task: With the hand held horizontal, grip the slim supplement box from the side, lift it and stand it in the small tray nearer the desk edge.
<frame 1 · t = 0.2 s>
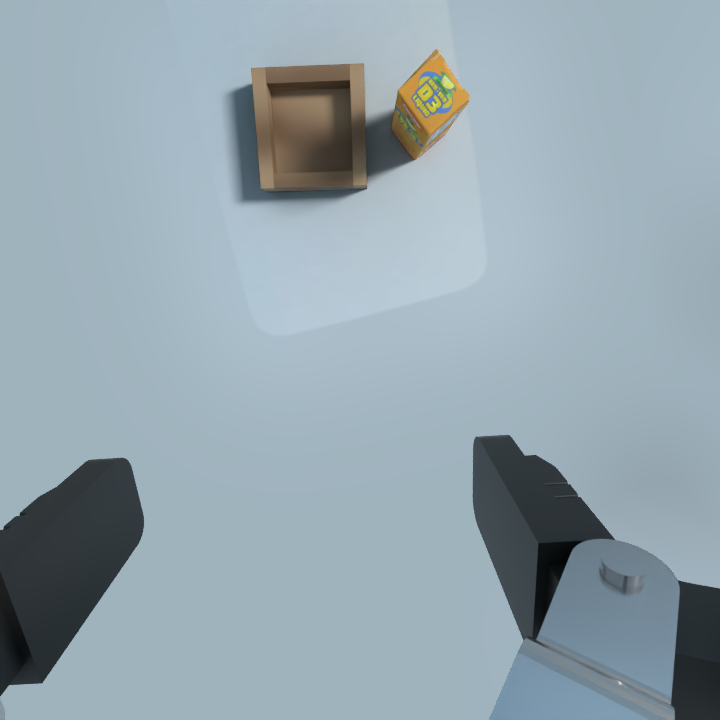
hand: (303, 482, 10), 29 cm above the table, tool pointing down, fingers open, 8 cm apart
tray: (314, 136, 34), on the table
supplement box: (416, 133, 35), on the table
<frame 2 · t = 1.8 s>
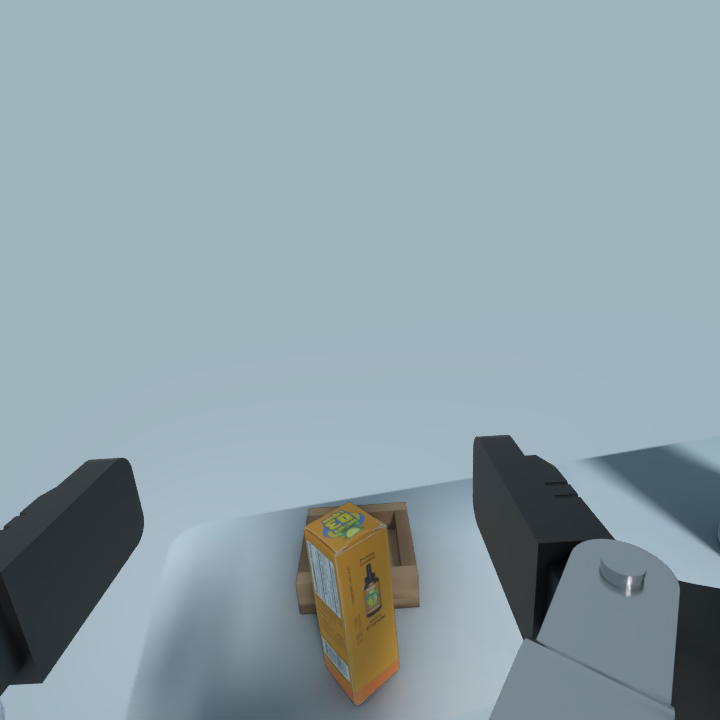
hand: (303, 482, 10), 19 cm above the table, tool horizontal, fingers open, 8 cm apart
tray: (359, 565, 33), on the table
supplement box: (360, 671, 26), on the table
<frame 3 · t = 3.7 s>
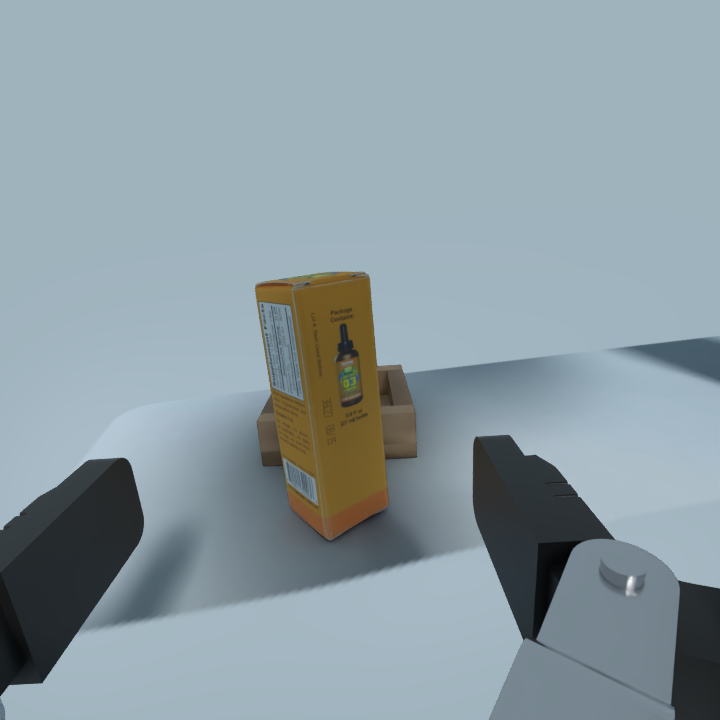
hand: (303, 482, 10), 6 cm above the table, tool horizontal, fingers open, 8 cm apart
tray: (342, 427, 27), on the table
supplement box: (336, 512, 19), on the table
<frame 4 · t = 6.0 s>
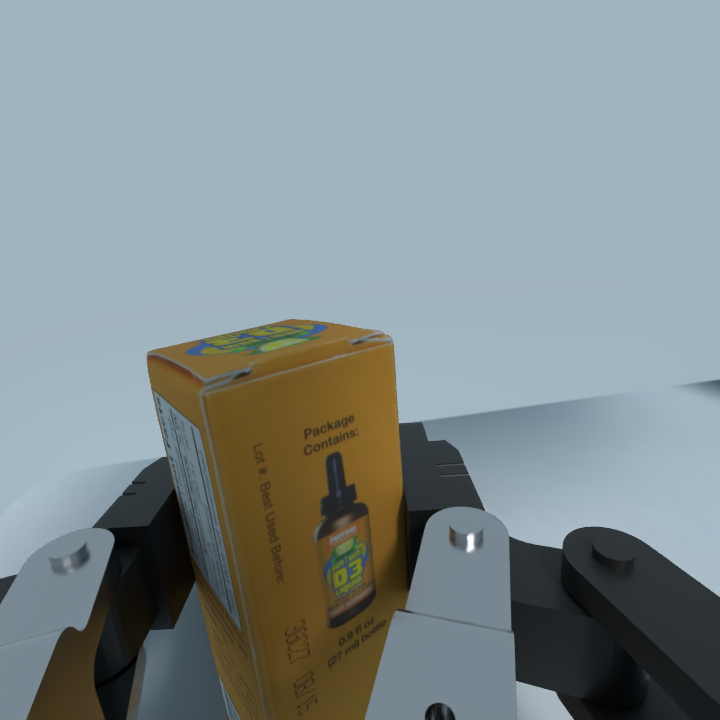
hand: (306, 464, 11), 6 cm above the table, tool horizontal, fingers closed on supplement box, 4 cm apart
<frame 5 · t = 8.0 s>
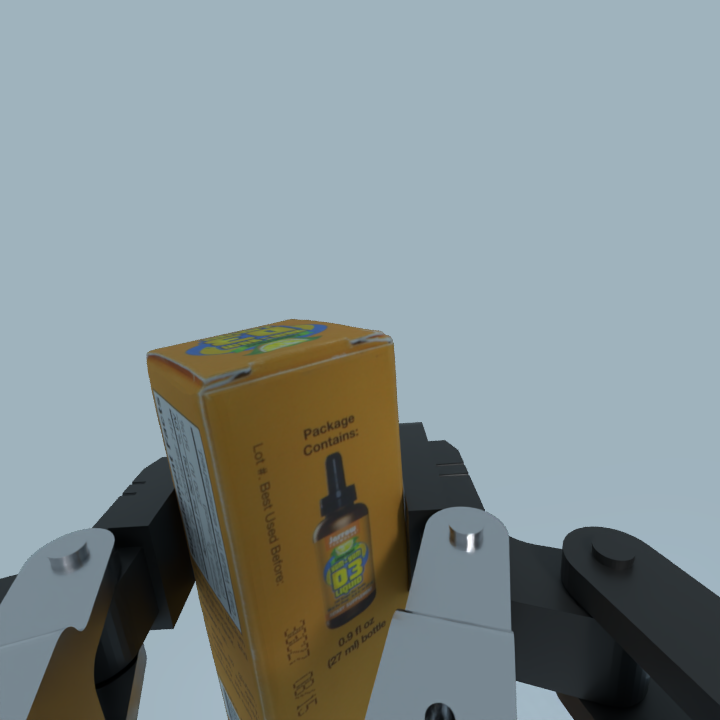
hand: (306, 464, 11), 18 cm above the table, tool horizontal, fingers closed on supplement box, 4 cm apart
when the fingers open (8 cm above the table, at t = 10.1 s): supplement box drops 1 cm, resting on tray.
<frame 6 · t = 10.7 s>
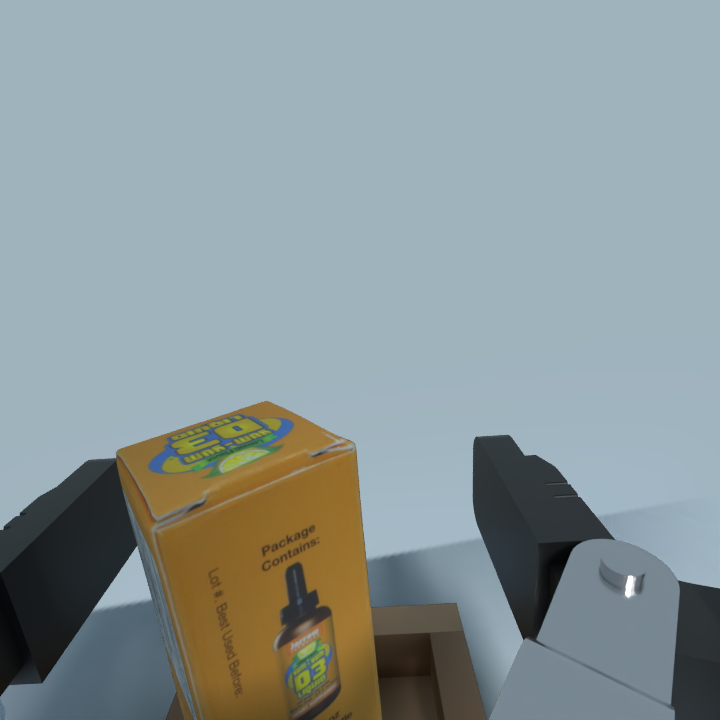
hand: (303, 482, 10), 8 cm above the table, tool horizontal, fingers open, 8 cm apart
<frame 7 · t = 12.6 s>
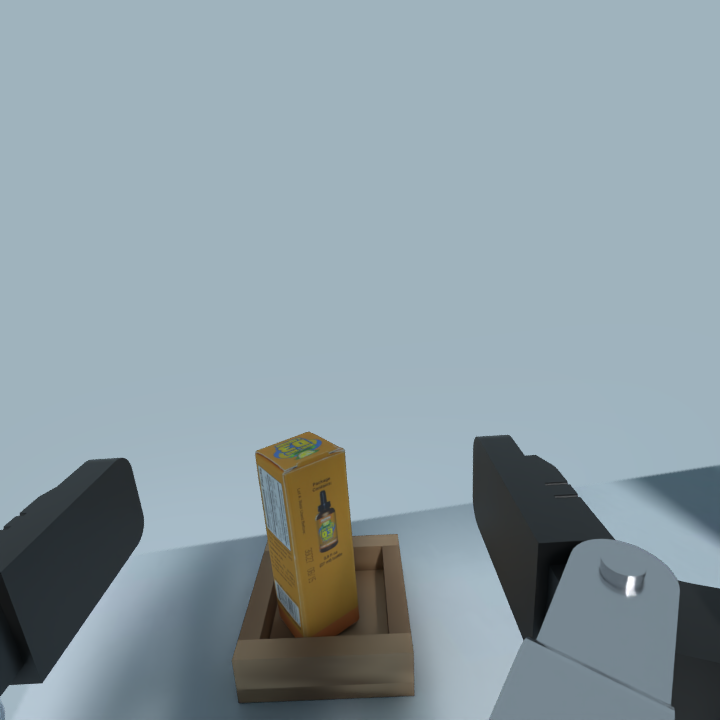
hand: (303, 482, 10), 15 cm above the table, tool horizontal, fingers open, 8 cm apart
tray: (331, 624, 24), on the table
supplement box: (317, 622, 23), point 1 cm above the table, touching tray
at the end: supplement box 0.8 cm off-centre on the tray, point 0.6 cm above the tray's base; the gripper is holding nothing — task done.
